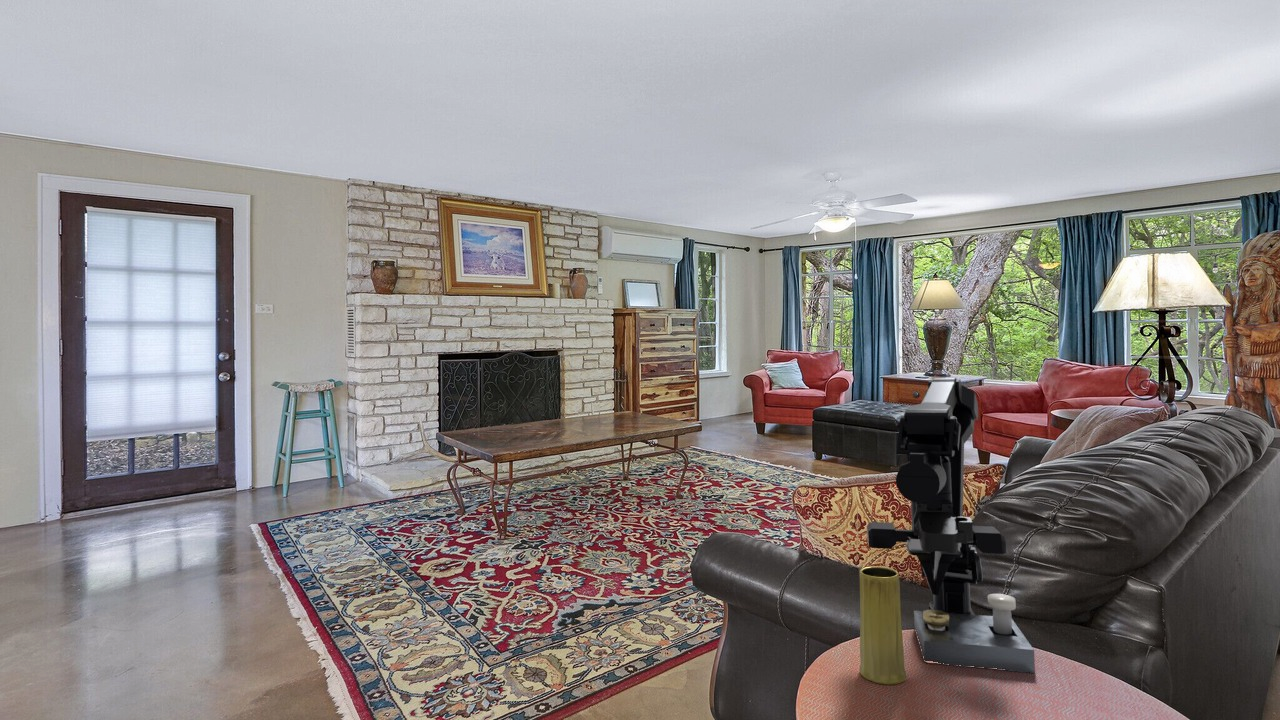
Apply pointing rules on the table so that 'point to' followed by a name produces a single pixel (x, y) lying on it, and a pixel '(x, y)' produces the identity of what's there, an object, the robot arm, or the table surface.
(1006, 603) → the knob ivory
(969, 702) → the table surface
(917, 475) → the robot arm
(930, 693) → the table surface
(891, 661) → the vase
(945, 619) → the knob brass
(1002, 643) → the mount
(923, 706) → the table surface
